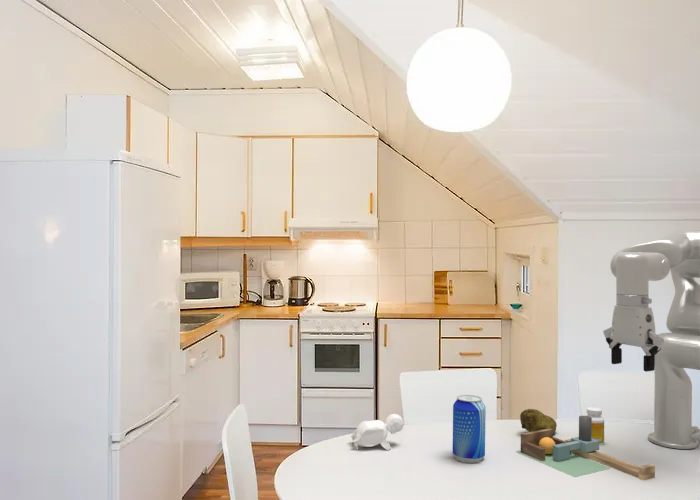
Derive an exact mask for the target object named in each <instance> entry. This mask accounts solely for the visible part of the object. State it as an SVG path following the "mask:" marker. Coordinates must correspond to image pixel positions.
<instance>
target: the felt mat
mask: <svg viewBox="0 0 700 500" xmlns="http://www.w3.org/2000/svg"><path fill="white" fill-rule="evenodd" d="M515 453H518V454H519V455H522V456H524V457H527V458H529V459H532V460H533V461H536V462H539V463H541V464H543V465H545V466H548V467H550V468H552V469H554V470H557V471H559V472H562V473H564V474H566V475H568V476H571V477H573V478H577V477H582V476H585V475H590V474H593V473H594V474H595V473H598V472H603V471H605V470H607V471H608V470H609V469H611V467H609V466H606V465H603V464H601V463H598V462H596V461H593V460H590V459H588V458H585V457H583V456H580V455H577V454H575V453H572V455H570V459H566V460H562V461H556V460H554V459H553V453H552V454H545V461H540V460H538V459H536V458H533V457H531V456H528V455H526V454H524V453H521V450H517V451H515Z"/></svg>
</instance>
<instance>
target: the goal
mask: <svg viewBox="0 0 700 500" xmlns="http://www.w3.org/2000/svg"><path fill="white" fill-rule="evenodd" d="M544 437H549V438H551V439H552V440H553V441H554V442H555V444H556V445H557V444H562V443H568V442H566V441H565V440H564V439H560V438H558V437H555V436H554V434H553V429H550V428H549V429H544V430H539V431H533V432H529V431H527V432H523V433H520V451H521V453H524V454H526V455H528V456H531V457H533V458H536V459H538V460H540V461H545V449H544V448H542V447H539V442H540V440H541V439H542V438H544ZM572 454H573V453H572V450H571V451H570V455H572Z"/></svg>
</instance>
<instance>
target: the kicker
mask: <svg viewBox="0 0 700 500" xmlns="http://www.w3.org/2000/svg"><path fill="white" fill-rule="evenodd" d="M570 439H571V442H568V443H562V444H557V445H553V459H554V460H556V461H562V460H566V459H570V451H571V450H576V449H578V450H580V451H583V452H586V453H587V452H592V451H600V445H599V441H598V440H595V439H592V418H591V417H589V416H586V415H579V416H578V436H576V437H571V438H570Z"/></svg>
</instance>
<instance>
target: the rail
mask: <svg viewBox="0 0 700 500" xmlns="http://www.w3.org/2000/svg"><path fill="white" fill-rule="evenodd" d="M564 441H566V442H571V438H569V439H565V440H564ZM572 454H575V455H578V456H580V457H583V458H585V459H588V460H591V461H593V462H596V463H598V464H601V465H604V466H606V467H609V468H612V469H615V470H617V471H619V472H622V473H625V474H627V475H630V476H632V477H635V478H638V479H639V480H642V481H646V480H647V481H648V480H649V479H654V478H656V475H655V474H656V466H655V464H652V463H649V464H645V465H641V466H639V465H635V464H633V463H630V462H627V461H624V460H622V459H619V458H616V457H615V456H611V455H609V454H606V453H603V452H601V451H599V450H597V451H592V452H587V453H586V452H583V451H580V450H578V449H576V450H572Z"/></svg>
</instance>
